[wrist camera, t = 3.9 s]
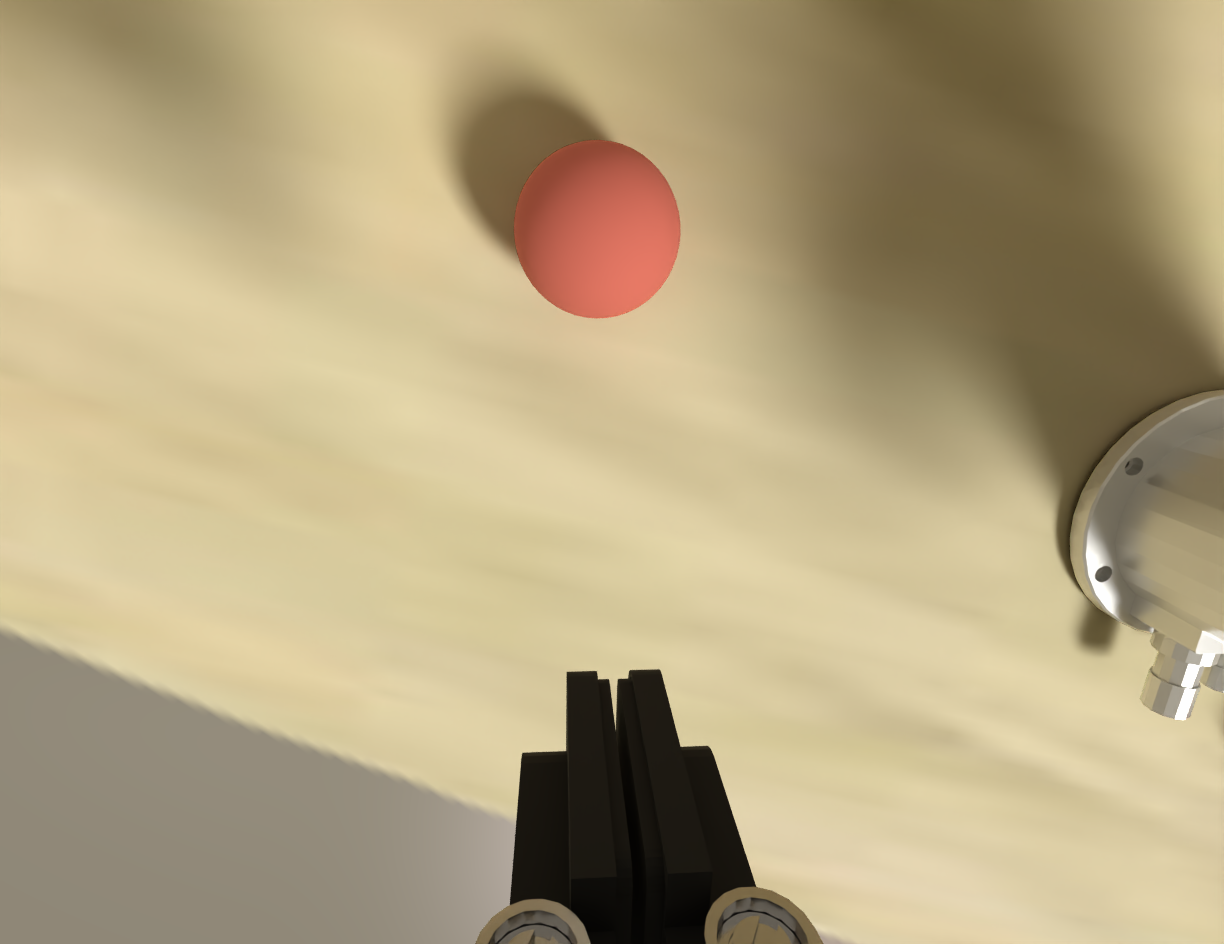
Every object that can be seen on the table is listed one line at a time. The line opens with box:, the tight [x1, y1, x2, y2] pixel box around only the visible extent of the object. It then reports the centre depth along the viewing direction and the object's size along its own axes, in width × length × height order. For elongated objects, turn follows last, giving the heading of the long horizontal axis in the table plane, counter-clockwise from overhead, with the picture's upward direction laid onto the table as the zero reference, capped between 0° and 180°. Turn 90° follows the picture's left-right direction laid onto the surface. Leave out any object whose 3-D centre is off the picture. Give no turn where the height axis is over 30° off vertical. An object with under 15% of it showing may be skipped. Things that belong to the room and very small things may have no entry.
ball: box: [514, 140, 680, 318], centre depth 22 cm, size 6×6×6 cm
